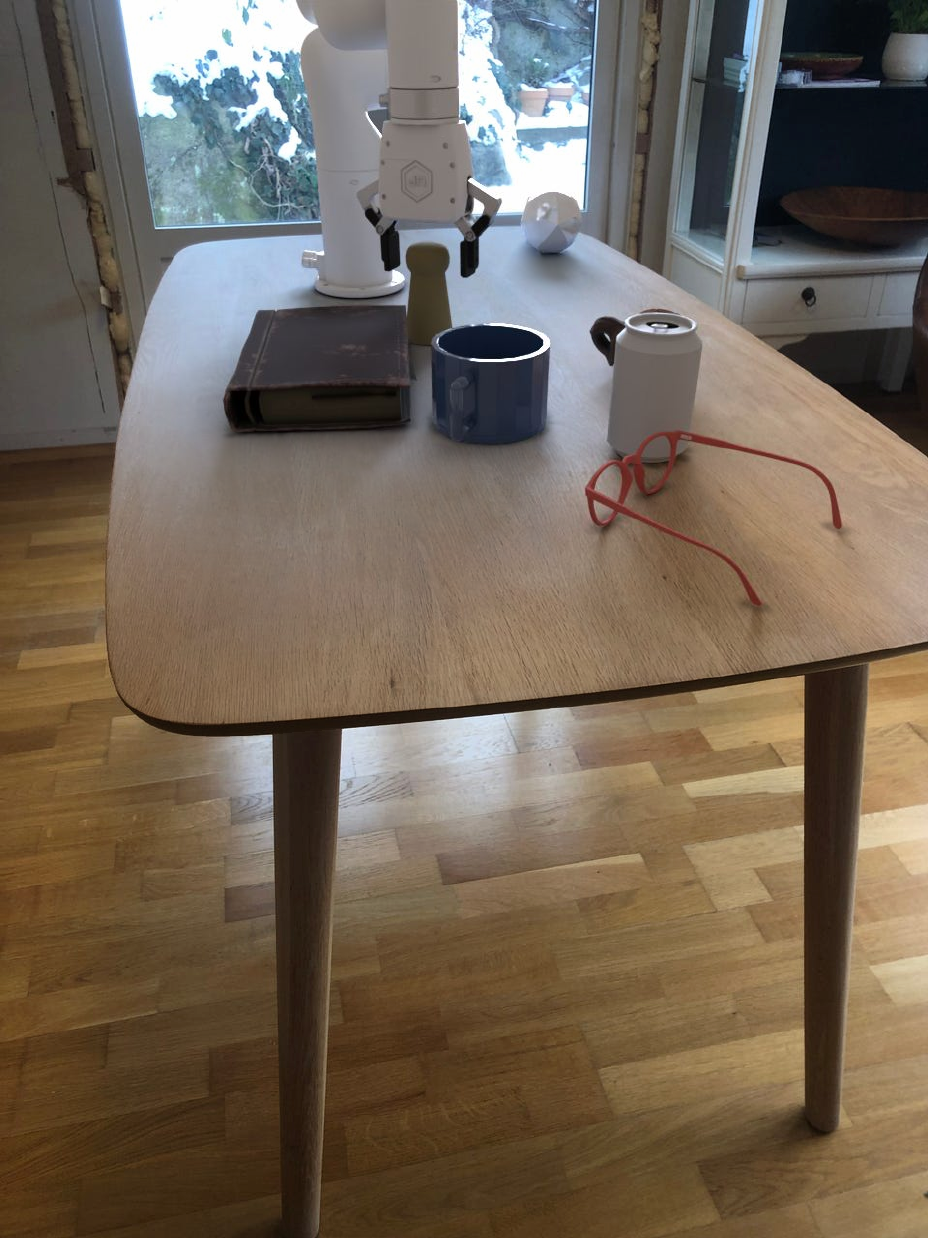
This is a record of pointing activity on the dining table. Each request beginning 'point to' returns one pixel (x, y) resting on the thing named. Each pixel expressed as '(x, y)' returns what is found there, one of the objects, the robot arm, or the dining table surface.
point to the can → (653, 384)
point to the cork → (427, 291)
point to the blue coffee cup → (490, 383)
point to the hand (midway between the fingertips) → (429, 271)
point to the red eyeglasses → (640, 474)
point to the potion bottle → (551, 220)
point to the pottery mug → (612, 333)
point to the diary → (323, 370)
